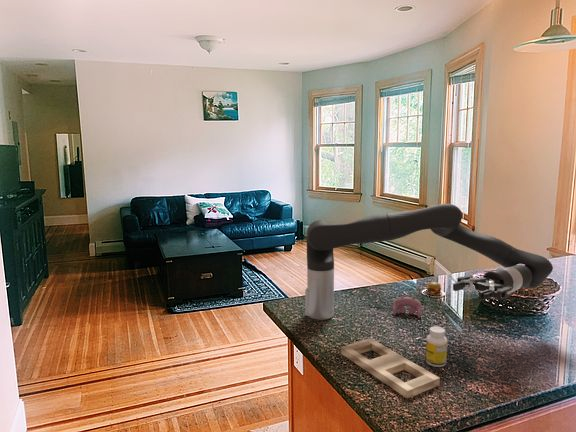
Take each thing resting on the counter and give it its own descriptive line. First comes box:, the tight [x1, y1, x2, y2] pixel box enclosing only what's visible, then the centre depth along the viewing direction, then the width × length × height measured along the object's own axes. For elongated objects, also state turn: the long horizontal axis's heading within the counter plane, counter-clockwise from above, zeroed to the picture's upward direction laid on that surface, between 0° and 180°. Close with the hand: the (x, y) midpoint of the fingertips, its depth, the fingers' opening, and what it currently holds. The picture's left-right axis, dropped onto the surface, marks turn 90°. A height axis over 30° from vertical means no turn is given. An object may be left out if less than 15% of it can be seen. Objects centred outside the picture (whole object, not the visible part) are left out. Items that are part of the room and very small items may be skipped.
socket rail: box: [340, 337, 441, 399], centre depth 117 cm, size 26×11×2 cm, turn 30°
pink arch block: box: [392, 296, 423, 319], centre depth 153 cm, size 10×5×7 cm, turn 71°
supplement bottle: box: [425, 325, 448, 368], centre depth 120 cm, size 5×5×10 cm
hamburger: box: [421, 281, 446, 298], centre depth 173 cm, size 12×12×6 cm
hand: (466, 291), depth 123 cm, fingers open, 8 cm apart
